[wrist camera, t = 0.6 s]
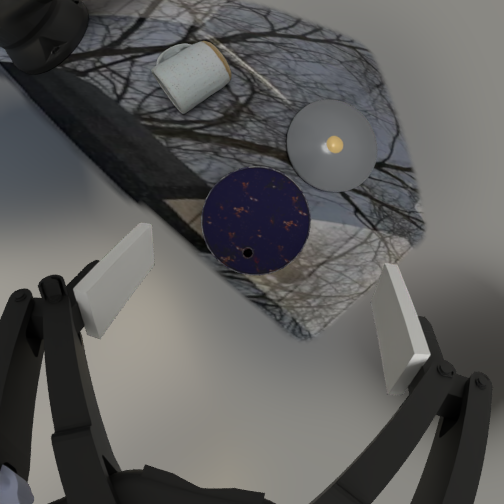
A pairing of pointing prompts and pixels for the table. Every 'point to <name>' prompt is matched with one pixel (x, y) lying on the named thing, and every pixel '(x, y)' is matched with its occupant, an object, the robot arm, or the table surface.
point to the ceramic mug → (191, 73)
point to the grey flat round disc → (331, 146)
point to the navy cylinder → (255, 220)
